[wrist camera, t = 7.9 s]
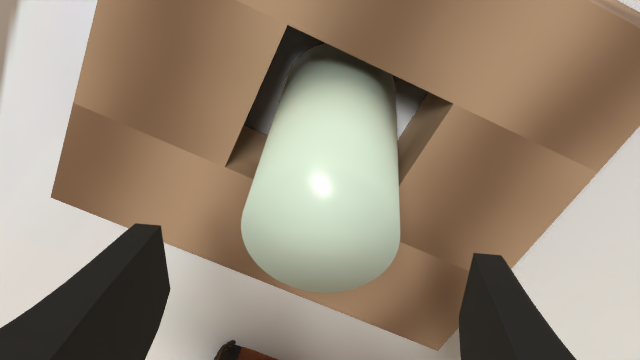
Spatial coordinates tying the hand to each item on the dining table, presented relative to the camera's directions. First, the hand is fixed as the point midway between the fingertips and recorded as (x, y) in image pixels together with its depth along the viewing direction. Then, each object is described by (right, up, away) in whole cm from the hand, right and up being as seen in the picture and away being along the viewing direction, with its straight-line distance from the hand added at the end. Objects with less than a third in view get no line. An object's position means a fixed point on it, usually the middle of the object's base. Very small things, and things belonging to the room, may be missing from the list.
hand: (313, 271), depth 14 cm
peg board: (+1, +5, +8) cm, 9 cm away
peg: (+1, +5, +8) cm, 9 cm away
